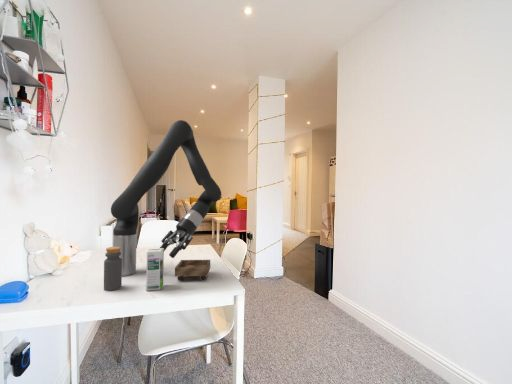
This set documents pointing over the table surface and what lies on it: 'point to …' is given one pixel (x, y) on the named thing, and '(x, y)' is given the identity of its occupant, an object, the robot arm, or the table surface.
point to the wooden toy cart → (192, 269)
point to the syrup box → (155, 269)
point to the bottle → (112, 269)
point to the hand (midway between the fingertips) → (164, 254)
